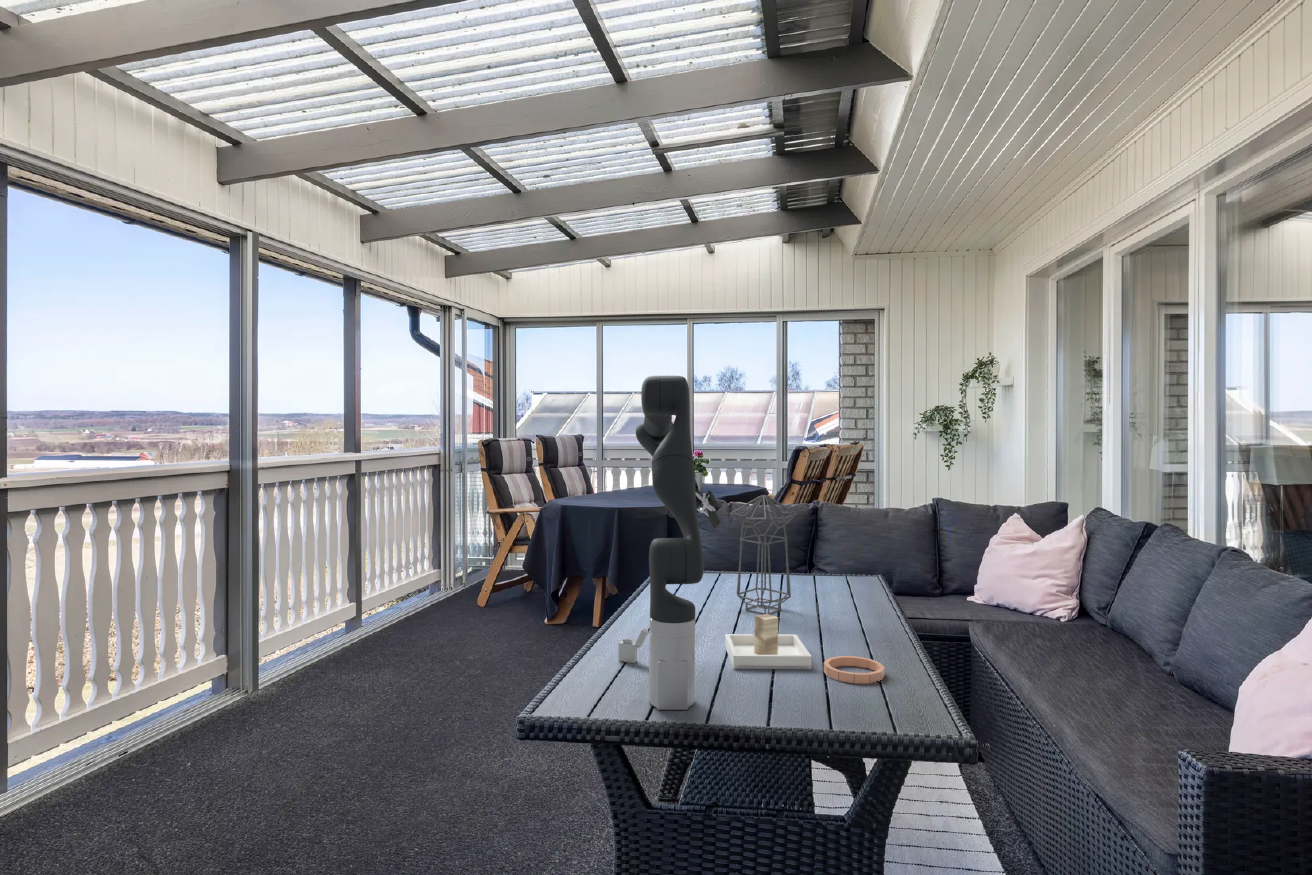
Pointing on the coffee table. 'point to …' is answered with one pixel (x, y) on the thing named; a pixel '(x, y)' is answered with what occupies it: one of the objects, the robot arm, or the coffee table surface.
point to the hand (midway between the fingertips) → (702, 527)
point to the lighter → (631, 647)
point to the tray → (788, 656)
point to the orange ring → (854, 677)
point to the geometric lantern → (754, 508)
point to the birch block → (766, 635)
